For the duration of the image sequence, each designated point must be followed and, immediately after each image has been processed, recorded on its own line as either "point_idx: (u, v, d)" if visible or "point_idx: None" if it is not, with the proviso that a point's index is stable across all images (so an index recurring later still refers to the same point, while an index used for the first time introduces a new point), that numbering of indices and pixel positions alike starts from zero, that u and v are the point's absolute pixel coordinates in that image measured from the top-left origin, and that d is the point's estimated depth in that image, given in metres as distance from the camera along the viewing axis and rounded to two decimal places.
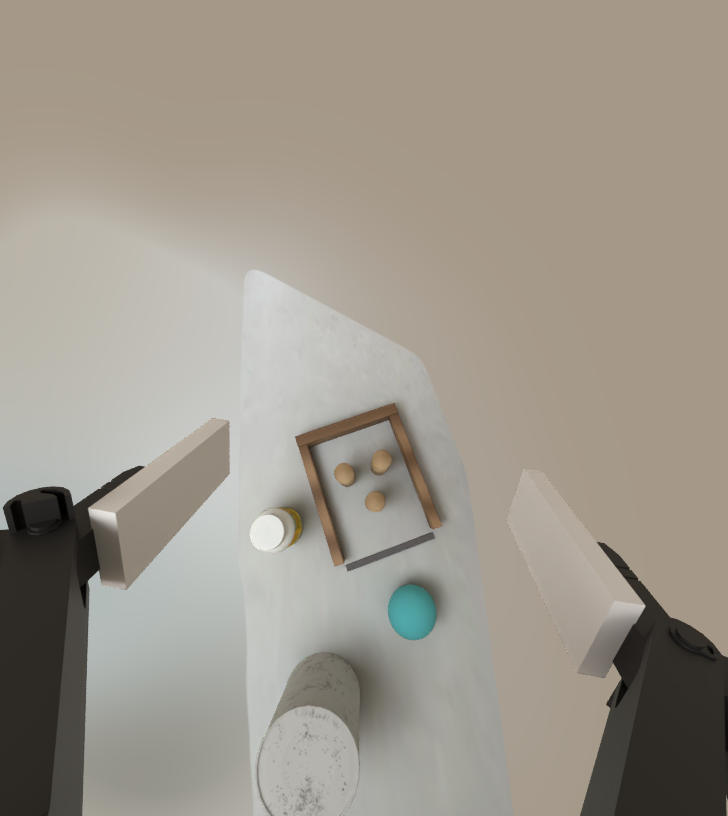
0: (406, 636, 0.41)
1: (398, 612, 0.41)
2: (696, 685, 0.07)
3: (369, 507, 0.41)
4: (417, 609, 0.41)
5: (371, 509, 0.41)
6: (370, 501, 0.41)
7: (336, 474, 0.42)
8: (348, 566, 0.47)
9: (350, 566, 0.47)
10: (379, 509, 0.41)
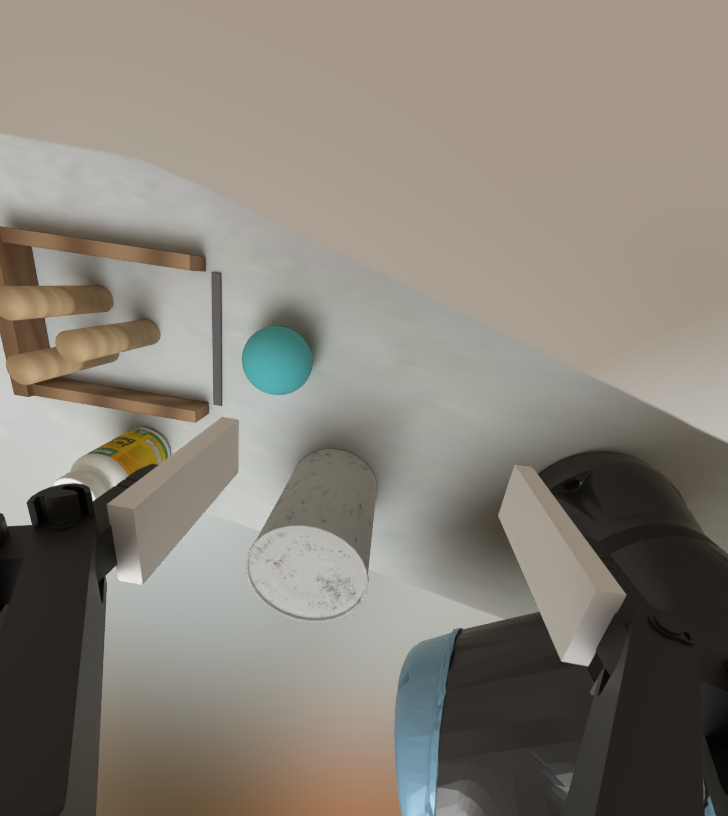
0: (290, 387, 0.29)
1: (255, 383, 0.29)
2: (674, 671, 0.07)
3: (78, 359, 0.26)
4: (257, 360, 0.27)
5: (81, 358, 0.26)
6: (69, 354, 0.26)
7: (21, 381, 0.27)
8: (215, 402, 0.35)
9: (216, 400, 0.35)
10: (83, 347, 0.26)
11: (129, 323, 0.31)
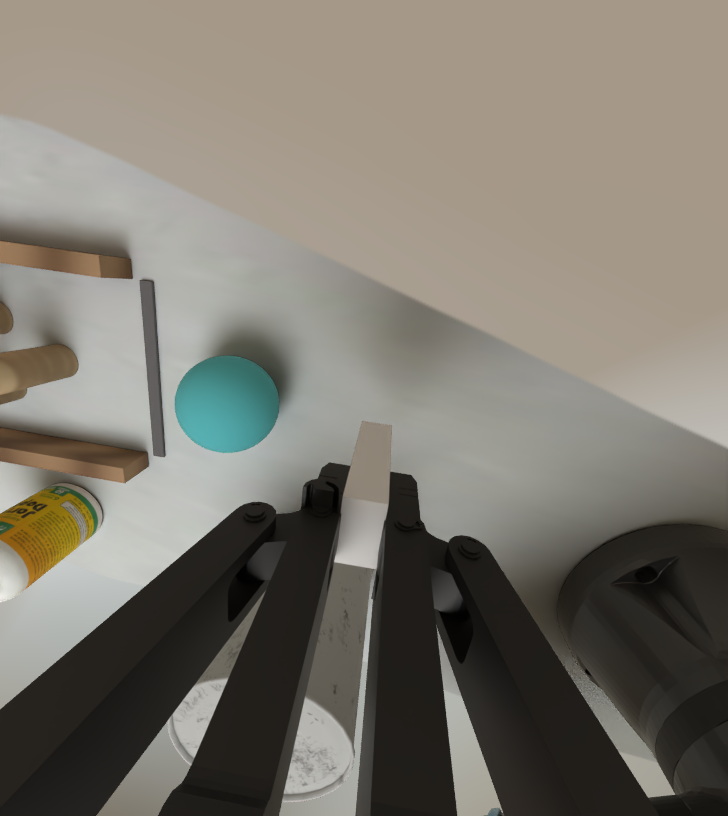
0: (244, 444, 0.20)
1: (193, 440, 0.20)
2: (413, 555, 0.09)
3: None
4: (191, 408, 0.19)
5: None
6: None
7: None
8: (156, 452, 0.26)
9: (156, 450, 0.26)
10: None
11: (24, 351, 0.22)
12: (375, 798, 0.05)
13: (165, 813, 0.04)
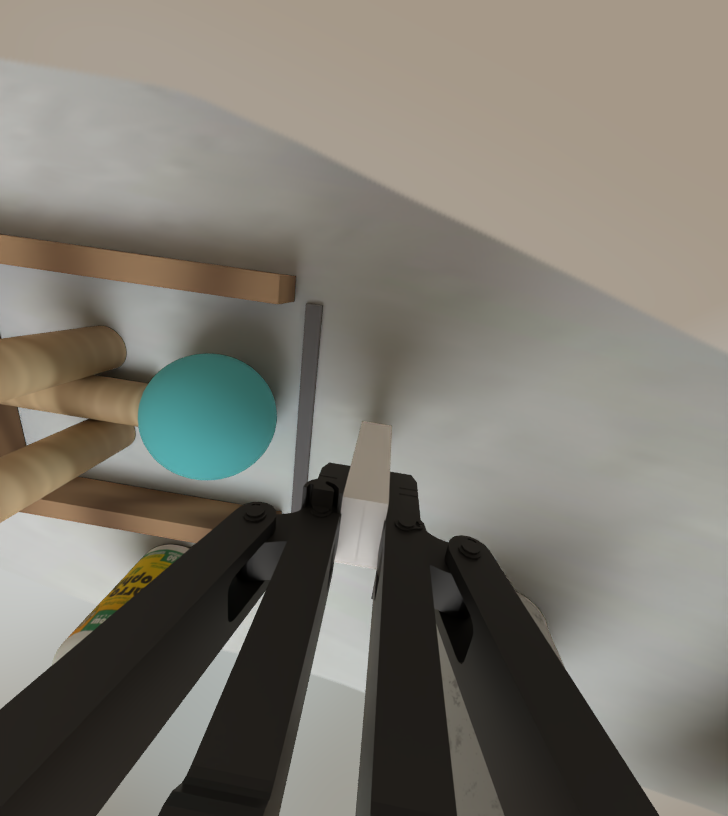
0: None
1: None
2: (413, 555, 0.09)
3: None
4: None
5: None
6: None
7: None
8: None
9: (296, 509, 0.21)
10: None
11: (94, 380, 0.18)
12: (375, 798, 0.05)
13: (165, 813, 0.04)
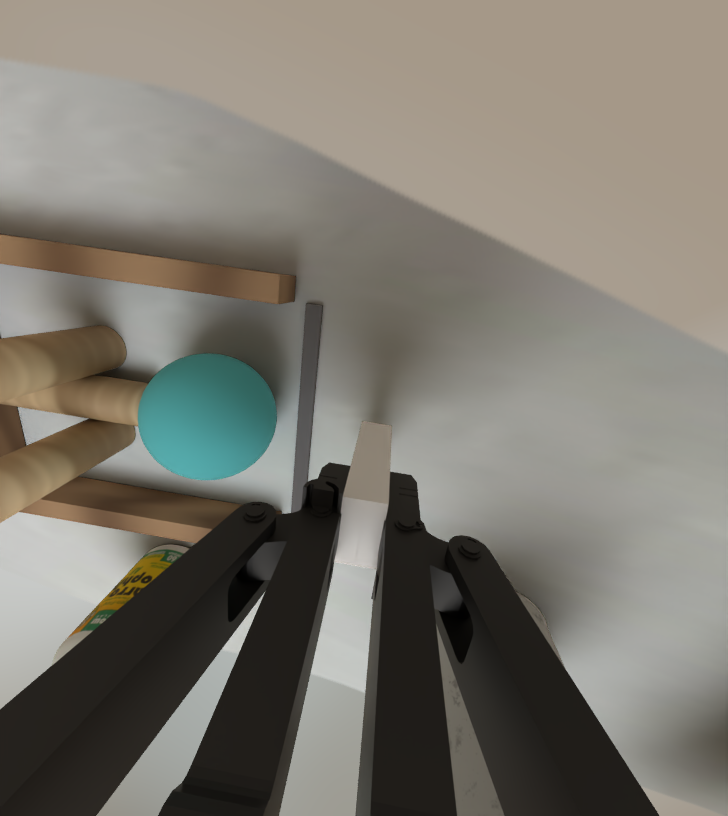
0: None
1: None
2: (413, 555, 0.09)
3: None
4: None
5: None
6: None
7: None
8: (294, 511, 0.21)
9: (296, 509, 0.21)
10: None
11: (95, 379, 0.18)
12: (376, 798, 0.05)
13: (164, 812, 0.04)
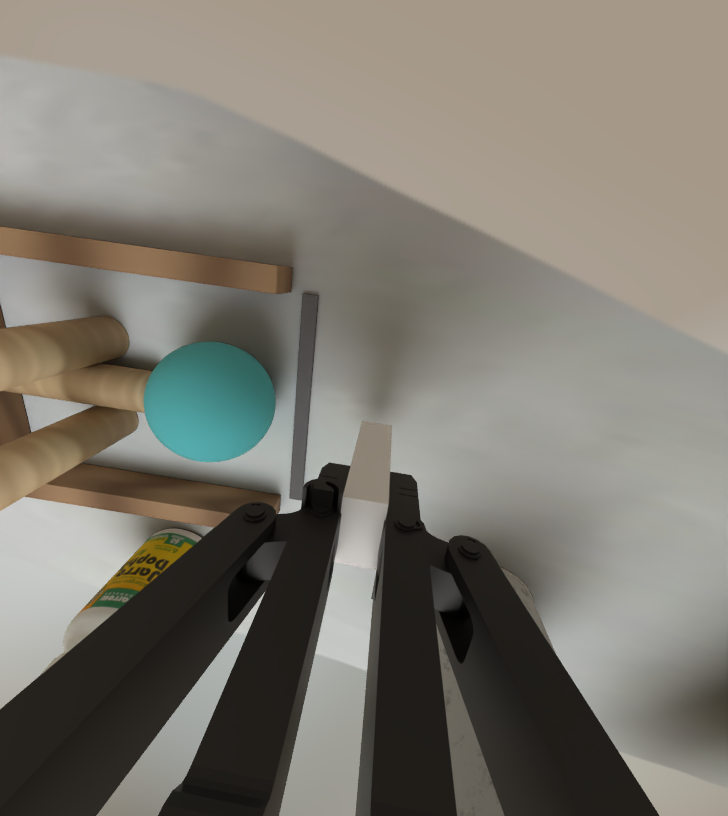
0: None
1: None
2: (413, 555, 0.09)
3: None
4: None
5: None
6: None
7: None
8: (293, 495, 0.22)
9: (294, 492, 0.22)
10: None
11: (100, 366, 0.19)
12: (375, 798, 0.05)
13: (165, 812, 0.04)
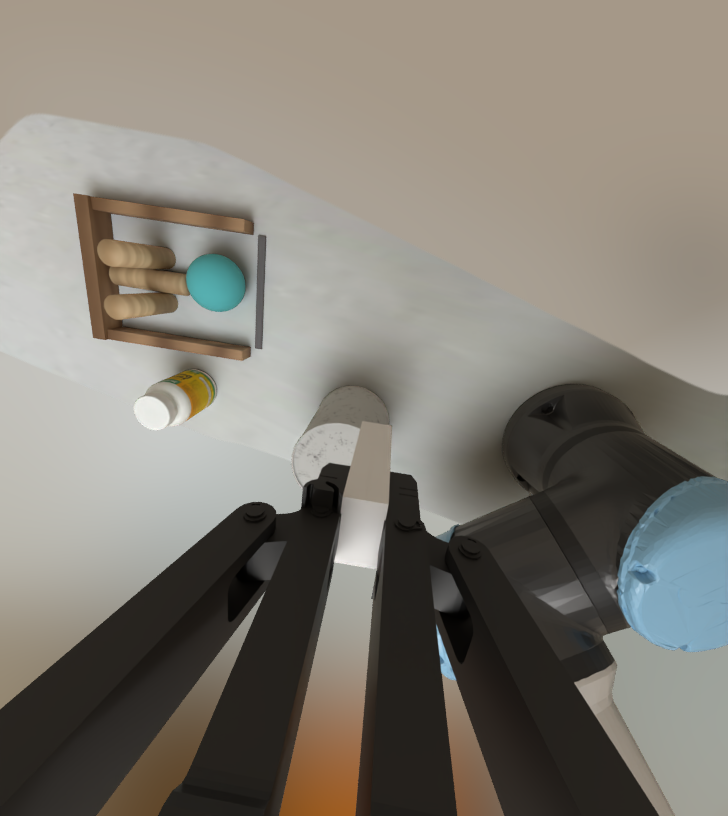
0: None
1: None
2: (413, 555, 0.09)
3: None
4: None
5: None
6: None
7: (115, 316, 0.35)
8: (256, 346, 0.43)
9: (257, 344, 0.43)
10: None
11: (162, 271, 0.40)
12: (375, 798, 0.05)
13: (165, 813, 0.04)
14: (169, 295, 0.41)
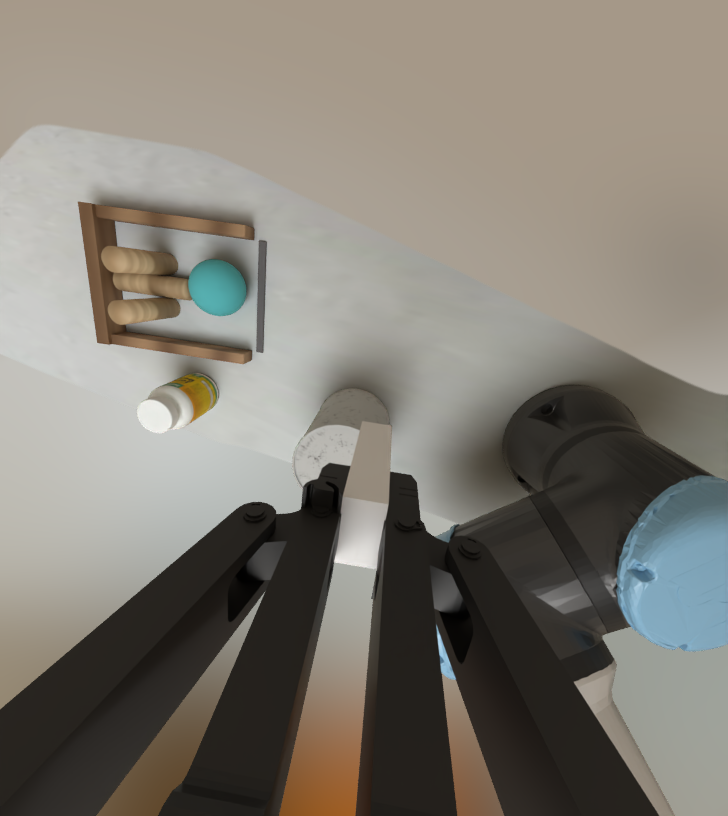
0: None
1: None
2: (413, 555, 0.09)
3: None
4: None
5: None
6: None
7: (118, 321, 0.35)
8: (258, 349, 0.43)
9: (258, 348, 0.43)
10: None
11: (165, 276, 0.40)
12: (375, 798, 0.05)
13: (164, 813, 0.04)
14: (172, 300, 0.42)
